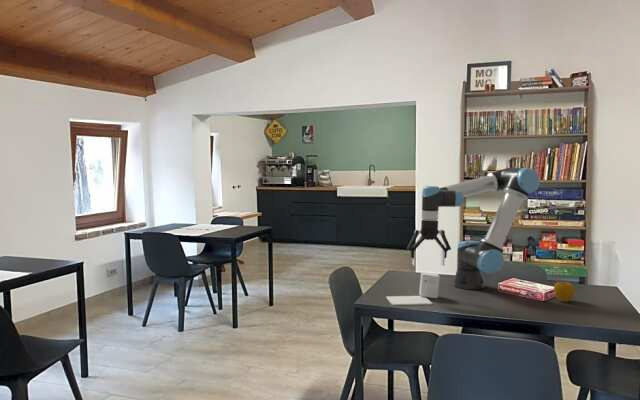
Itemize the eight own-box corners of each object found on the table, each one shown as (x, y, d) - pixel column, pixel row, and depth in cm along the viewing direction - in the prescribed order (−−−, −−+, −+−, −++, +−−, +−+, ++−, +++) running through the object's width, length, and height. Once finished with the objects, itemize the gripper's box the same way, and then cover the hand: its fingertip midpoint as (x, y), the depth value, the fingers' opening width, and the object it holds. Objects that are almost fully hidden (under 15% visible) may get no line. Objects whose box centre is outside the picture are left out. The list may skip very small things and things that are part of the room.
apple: (573, 299, 219) (574, 280, 218) (575, 304, 211) (576, 285, 210) (553, 297, 222) (554, 278, 222) (553, 302, 215) (554, 283, 214)
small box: (435, 295, 224) (438, 273, 224) (437, 298, 219) (440, 276, 218) (418, 293, 225) (421, 271, 224) (420, 296, 220) (422, 274, 219)
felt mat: (424, 297, 222) (424, 295, 222) (432, 304, 210) (432, 303, 210) (386, 297, 220) (386, 296, 220) (392, 305, 208) (392, 304, 208)
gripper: (453, 218, 224) (451, 263, 226) (401, 218, 222) (399, 263, 223) (459, 220, 217) (457, 266, 218) (405, 220, 214) (404, 266, 216)
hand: (428, 265), depth 221 cm, fingers open, 13 cm apart
